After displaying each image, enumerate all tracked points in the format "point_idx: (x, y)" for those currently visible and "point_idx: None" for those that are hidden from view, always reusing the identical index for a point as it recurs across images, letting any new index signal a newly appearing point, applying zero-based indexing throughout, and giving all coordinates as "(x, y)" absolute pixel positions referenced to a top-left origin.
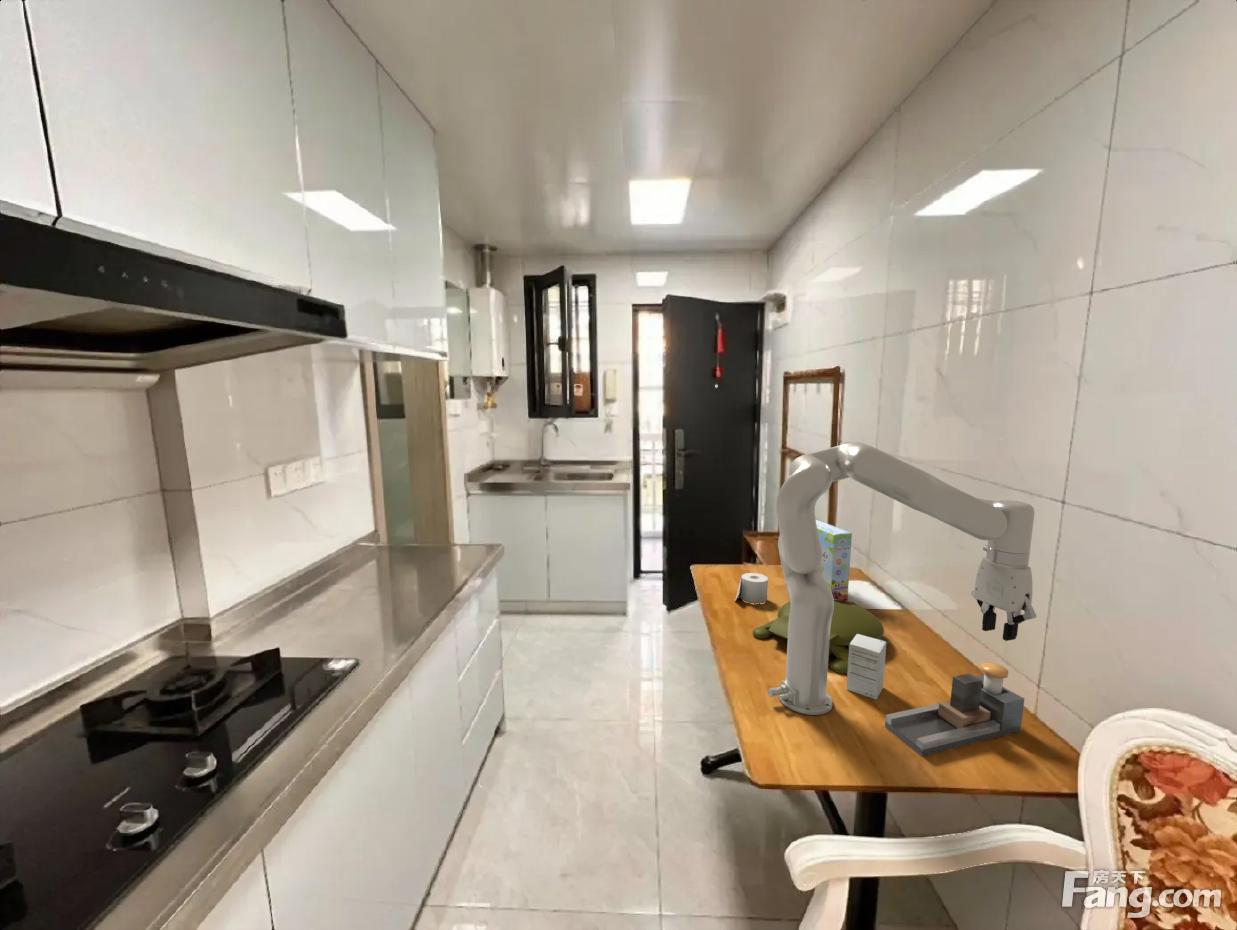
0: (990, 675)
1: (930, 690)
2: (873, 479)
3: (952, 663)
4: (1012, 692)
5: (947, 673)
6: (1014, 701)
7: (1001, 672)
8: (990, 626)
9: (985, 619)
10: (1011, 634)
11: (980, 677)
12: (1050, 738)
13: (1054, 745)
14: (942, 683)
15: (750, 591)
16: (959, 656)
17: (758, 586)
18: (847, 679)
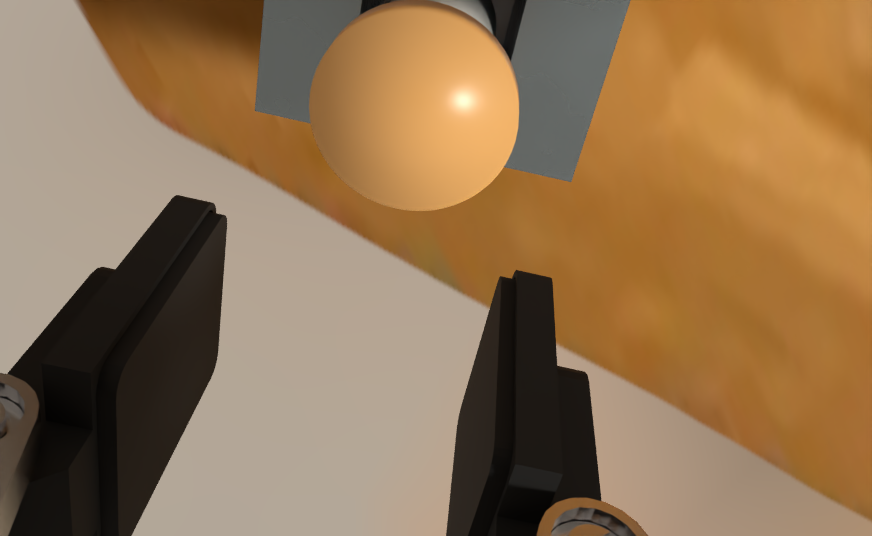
0: (399, 3)
1: (833, 4)
2: None
3: (840, 404)
4: None
5: (824, 287)
6: (263, 12)
7: (339, 86)
8: (475, 387)
9: (514, 396)
10: (86, 290)
11: (560, 140)
12: (217, 112)
13: (173, 64)
14: (805, 156)
15: None
16: (837, 491)
17: None
18: None
